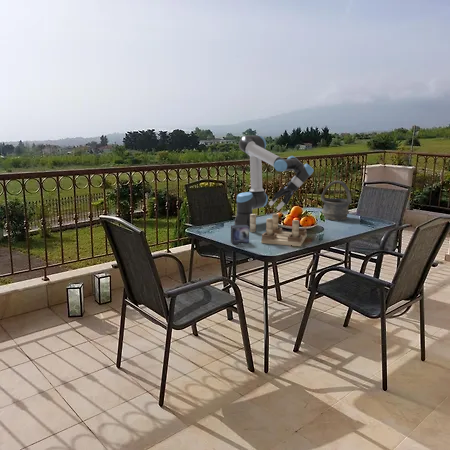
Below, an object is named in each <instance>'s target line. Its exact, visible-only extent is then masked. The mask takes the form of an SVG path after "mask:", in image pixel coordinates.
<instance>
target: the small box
mask: <svg viewBox="0 0 450 450" xmlns="http://www.w3.org/2000/svg"><path fill="white" fill-rule="evenodd" d="M230 243H233V244H232V245H234V244H235V245H238V244H239V243H240V244H239V245H241V243H243V244H250V226H248V225H230Z"/></svg>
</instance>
